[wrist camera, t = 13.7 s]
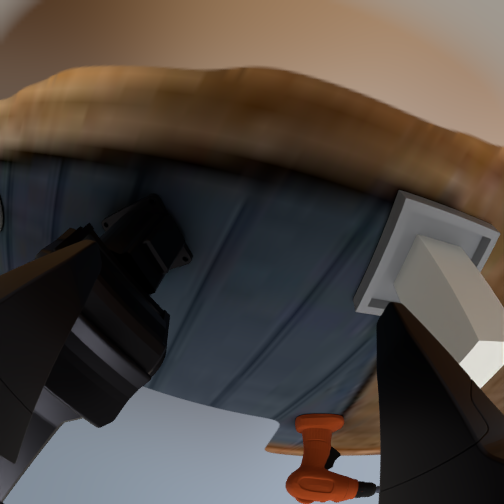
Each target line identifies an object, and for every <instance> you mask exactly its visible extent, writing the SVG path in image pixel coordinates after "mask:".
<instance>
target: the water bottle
mask: <svg viewBox="0 0 504 504" xmlns="http://www.w3.org/2000/svg"><path fill="white" fill-rule="evenodd" d="M2 225H3V212H2V206H1V202H0V231H1V229H2Z"/></svg>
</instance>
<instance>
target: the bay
mask: <svg viewBox="0 0 504 504" xmlns="http://www.w3.org/2000/svg"><path fill="white" fill-rule="evenodd" d="M417 234H419V235H422V236H426V237H429V238H433V239H436V240H439V241H443V242H446V243H449V244H453V245H456V246H459V247H461V248H462V249H463V250H464V252H465V253H466V254H467V256H468V257H469V258H470V260H471V261H472V262H473V264H474V265H475V266H476V268H477V269H478V270H479V272H481V270H482V268H483V266H484V264H485V263H486V261H487V259H488V257H489V255H490V253H491V251H492V249H493V247H494V245H495V243H496V241H497V239H498V237H499V235H500V232H499V231H498V230H497V229H496V228H495V227H494V226H492V225H491V224H489V223H487V222H485V221H482V220H480V219H478V218H475V217H473V216H470V215H468V214H465V213H463V212H460V211H458V210H455V209H453V208H450V207H447V206H445V205H442V204H439V203H437V202H434V201H431V200H428V199H425V198H422V197H420V196H417V195H414V194H411V193H408V192H405V191H401V190H399V191H398V194H397V196H396V199H395V202H394V205H393V207H392V210H391V213H390V215H389V218H388V221H387V223H386V226H385V228H384V231H383V233H382V236H381V238H380V241H379V243H378V245H377V248H376V250H375V252H374V255H373V257H372V259H371V262H370V264H369V266H368V268H367V271H366V273H365V275H364V277H363V279H362V282H361V284H360V286H359V288H358V290H357V292H356V294H355V296H354V298H353V302H354V306H355V311H356V312H360V313H367V314H373V315H380V316H381V315H382V313H383V311H384V310H385V308H386V306H387V304H388V303H389V302H398V303H401V302H400V299H399V297H398V294H397V292H396V289H395V287H394V284H393V283H394V282H395V280H396V278H397V276H398V274H399V272H400V270H401V268H402V266H403V264H404V262H405V260H406V258H407V255H408V253H409V251H410V249H411V247H412V245H413V242H414V240H415V238H416V236H417Z"/></svg>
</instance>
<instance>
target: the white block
mask: <svg viewBox="0 0 504 504" xmlns="http://www.w3.org/2000/svg"><path fill="white" fill-rule="evenodd" d="M393 284H394V287H395V289H396V292H397V294H398V297H399V299H400V302H401V303H402V304H403V305H404V306H405V307H406V308H407V309H408V310H409V311H410V312H411V313H412V314H413V315H414V316H415V317H416V318H417V319H418V320H419V321H420V322H421V323H422V324H423V325H424V326H425V327H426V328H427V329H428V331H429V332H430V333H431V334H432V335H433V336H434V337H435V338H436V339H437V340H438V341H439V342H440V343H441V344H442V346H443V347H444V348H445V349H446V350H447V351H448V352H449V353H450V354H451V356H452V357H453V358H454V359H455V360H456V361H457V362H458V363H459V365H460V366H461V367H462V368H463V369H464V370H465V371H466V373H467V374H468V375H469V376H470V377H471V379H472V380H473V381H474V382H475V383H476V384H477V386H478V387H479V388H481V387H482V386H483V385H484V384H485V383H486V382H487V381H488V380H489V379H490V378H491V377H492V376H493V375H494V374H495V373H496V372H497V371H498V370H499V369H500V368H501V367H502V366H503V365H504V308H503V306H502V305H501V303H500V301H499V300H498V298H497V297H496V295H495V294H494V292H493V291H492V289H491V288H490V286H489V285H488V283H487V282H486V280H485V279H484V277H483V276H482V275H481V273H480V272H479V270H478V269H477V268H476V266H475V265H474V264H473V262H472V261H471V260H470V258H469V257H468V256H467V254H466V253H465V252H464V250H463V249H462V248H461V247H459V246H456V245H453V244H449V243H446V242H443V241H439V240H436V239H433V238H429V237H426V236H422V235H419V234H417V236H416V238H415V240H414V242H413V245H412V247H411V249H410V251H409V253H408V255H407V258H406V260H405V262H404V264H403V266H402V268H401V270H400V272H399V274H398V276H397V278H396V280H395V282H394V283H393Z"/></svg>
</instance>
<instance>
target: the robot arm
mask: <svg viewBox="0 0 504 504" xmlns="http://www.w3.org/2000/svg"><path fill="white" fill-rule="evenodd" d="M151 199H154V200H155V203H153V202H152V200H151ZM106 223H108V225H107V224H106ZM102 226H103V228H104V230H105V231H106V232H105V233H104V234H103V235H102V236H101V237H100V238H99V237H98V235H97V234H96V233H95V232H94V228H93V227H92V225H91V224H90V223H89V224H87V225H86V226H85V227H84V228H82V227H81V226H80V227H79V228H78V229H77V230H75V229H72V228H70V229H68V230H67V231H66V232H65V233H64V234H63V235H62V236H60V237H59V238H58V239H57V240H56V241H54V242H53V243H51V244H50V245H48V246H47V247H45V248H44V249H42V250H41V251H40V252H39V253H38V254H37V255H36V258H35V260H34V261H31V262H29V263H27V264H25V265H22V266H20V267H18V268H16V269H13V270H11V271H9V272H7V273H5V274H2V275H0V504H3V503H2V502H3V500H4V499H5V498H6V497H7V495H8V494H9V493H10V491H11V490H12V489H13V487H14V486H15V484H16V483H17V482H18V480H19V479H20V478H21V476H22V475H23V474H24V472H25V471H26V470H27V468H28V467H29V466H30V464H31V463H32V462H33V460H34V459H35V458H36V457H37V455H38V454H39V453H40V452H41V450H42V449H43V448H44V446H45V445H46V444H47V443H48V441H49V440H50V439H51V437H52V436H53V435H54V434H55V433H56V431H57V430H58V429H59V427H60V426H61V425H62V424H63V423H64V422H68V421H73V420H77V419H82V418H84V419H85V420H87V421H88V422H90V423H91V424H93V425H94V426H96V427H98V428H99V427H102V426H104V425H106V424H109V423H111V422H112V421H114V420H115V418H116V417H117V415H118V414H119V413H120V411H121V410H122V408H123V407H124V405H125V404H126V403H127V401H128V400H129V399H130V398H131V397H132V396H133V395H134V393H135V392H136V391H138V389H140V388H141V387H142V386H144V385H145V384H146V383H147V382H149V381H150V380H151V377H152V376H153V375H154V374H155V373H156V372H157V370H158V369H159V368H160V366H161V364H162V363H163V360H164V358H165V355H166V348H167V338H168V329H169V320H170V315H169V314H168V313H167V312H166V311H165V310H162V309H161V307H160V306H159V305H158V304H157V303H156V302H155V301H154V300H153V299H152V298H151V297H150V295H151V294H153V293H155V291H156V289H157V288H158V286H159V284H160V282H161V281H162V279H163V277H164V276H165V274H166V273H167V272H168V271H169V270H170V269H173V268H176V267H180V266H183V265H186V264H189V263H190V262H191V260H192V254H191V253H190V251H189V249H188V247H187V246H186V244H185V240H184V239H183V237H182V235H181V233H180V232H179V230H178V228H177V226H176V225H175V223H174V221H173V219H172V217H171V216H169V214H168V213H167V211H166V209H165V207H164V205H163V204H162V202H161V200H160V198H159V197H158V196H157V195H156V194H151V195H149V196H147V197H145V198H143V199H141V200H139V201H137V202H135V203H133V204H131V205H129V206H127V207H126V208H124V209H122V210H120V211H118V212H116V213H114V214H112V215H110V216H109V217H107V218H105V219H104V220H103V221H102ZM185 257H187V258H188V259H186V258H185ZM377 380H378V393H379V410H380V441H381V462H380V465H381V467H380V492H379V504H504V415H503V414H502V413H501V412H500V410H499V409H498V408H497V407H496V406H495V405H494V404H493V403H492V402H491V401H490V399H489V398H488V397H487V396H486V395H485V394H484V393H483V391H482V390H481V389H480V388H479V387H478V386H477V384H476V383H475V382H474V381H473V380H472V379H471V377H470V376H469V375H468V374H467V373H466V371H465V370H464V369H463V368H462V367H461V366H460V365H459V363H458V362H457V361H456V360H455V359H454V358H453V357H452V356H451V354H450V353H449V352H448V351H447V350H446V349H445V348H444V347H443V346H442V344H441V343H440V342H439V341H438V340H437V339H436V338H435V337H434V336H433V335H432V334H431V333H430V332H429V331H428V329H427V328H426V327H425V326H424V325H423V324H422V323H421V322H420V321H419V320H418V319H417V318H416V317H415V316H414V315H413V314H412V313H411V312H410V311H409V310H408V309H407V308H406V307H405V306H404V305H403V304H402V303H398V302H389V303H388V304H387V306H386V308H385V310H384V311H383V313H382V315H381V316H380V318H379V320H378V322H377Z"/></svg>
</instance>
